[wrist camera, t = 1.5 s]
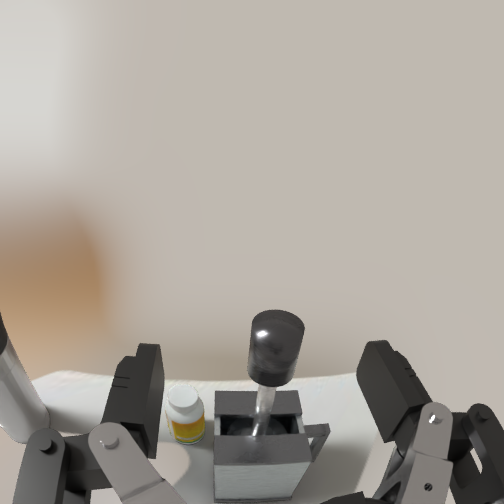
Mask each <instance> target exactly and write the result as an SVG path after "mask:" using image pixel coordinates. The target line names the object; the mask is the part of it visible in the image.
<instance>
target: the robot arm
mask: <svg viewBox="0 0 504 504" xmlns="http://www.w3.org/2000/svg"><path fill="white" fill-rule="evenodd" d="M356 376H357V381H358V384H359V386H360V388H361V391H362V393H363V395H364V397H365V400H366V402H367V404H368V406H369V409H370V411H371V413H372V416H373V418H374V420H375V423H376V425H377V427H378V430H379V432H380V434H381V437H382V439H383V441H384V443H387V442H391V441H395V443H396V446H395V447H394V449H393V452H392V455H391V458H390V460H389V463H388V466H387V469H386V472H385V474H384V477H383V479H382V482H381V484H380V486H379V488H378V489H377V491H376V492H375V494H374V496H373V497H372V498H365V497H364V494H363V491H361V492H357V493H353V494H349V495H344V496H340V497H335V498H332V499H330V500H328V501H325V502H323V503H321V504H445V501H446V497H447V492H448V488H449V487H450V489H451V492H452V494H453V497H454V500H455V503H456V504H504V430H503V428H502V426H501V425H500V423H499V421H498V419H497V418H496V416H495V414H494V413H493V411H492V410H491V409H490V408H489V407H488V406H486V405H484V404H479V403H478V404H474V405H473V406H471V408H470V409H469V410H468V411H467V413H462V412H457V413H456V412H451V411H450V410H449V409H448V408H447V407H446V406H445V405H443V404H441V403H436V402H433V401H432V400H431V398H430V396H429V395H428V393H427V391H426V390H425V388H424V387H423V385H422V383H421V381H420V380H419V378H418V377H416V373H415V372H414V370H413V369H412V367H411V365H410V364H409V362H408V361H407V359H406V358H405V357H404V356H403V355H401V354H400V353H399V352H398V351H394V350H393V349H392V347H391V346H390V344H389V342H388V341H386V340H379V341H369V342H368V343H367V344H366V346H365V349H364V352H363V354H362V357H361V360H360V362H359V365H358V367H357V373H356ZM163 392H164V369H163V362H162V356H161V349H160V345H159V344H143V343H140V344H139V346H138V349H137V353H136V357H133V356H125V357H124V358H123V360H122V361H121V362H120V363H119V364H118V366H117V369H116V372H115V375H114V379H113V382H112V387H111V389H110V392H109V396H108V399H107V403H106V407H105V410H104V414H103V418H102V421H101V423H100V425H98V426H96V427H95V428H94V429H93V430H92V431H91V432H90V433H88V434H85V435H79V436H69V437H62V436H61V434H60V433H59V432H57V431H56V430H53V429H50V428H49V425H50V417H49V413H48V411H47V409H46V407H45V406H44V404H43V402H42V401H41V399H40V397H39V395H38V394H37V392H36V390H35V388H34V387H33V385H32V383H31V381H30V379H29V377H28V376H27V374H26V372H25V370H24V368H23V366H22V364H21V362H20V360H19V358H18V356H17V354H16V351H15V349H14V347H13V345H12V343H11V341H10V339H9V337H8V334H7V332H6V329H5V327H4V324H3V321H2V317H1V313H0V427H1V428H3V429H4V430H5V432H6V433H7V434H8V435H9V436H10V437H11V438H12V439H13V440H14V441H16V442H18V443H22V444H27V446H26V449H25V452H24V456H23V460H22V464H21V467H20V472H19V476H18V480H17V484H16V489H15V493H14V498H13V504H90V499H91V490H95V489H105V488H114V490H115V491H116V493H117V494H118V496H119V498H120V500H121V502H122V503H123V504H187V503H186V502H185V501H184V500H183V499H182V498H181V497H180V495H179V494H178V493H177V492H176V491H175V490H174V488H173V487H172V486H171V485H170V484H169V483H168V482H167V481H166V480H165V479H163V478H162V477H161V476H160V475H159V474H158V472H157V471H156V470H155V468H154V467H153V466H152V464H151V463H150V462H149V460H148V458H151V459H156V451H157V442H158V432H159V424H160V415H161V407H162V400H163ZM473 448H474V449H475V451H476V453H477V455H478V457H479V459H480V461H481V463H482V472H481V474H480V472H479V470H478V468H477V465H476V463H475V461H474V459H473V457H472V455H471V453H470V451H471V450H472V449H473Z"/></svg>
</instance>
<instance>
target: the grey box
mask: <svg viewBox="0 0 504 504" xmlns="http://www.w3.org/2000/svg"><path fill="white" fill-rule="evenodd" d="M257 394H258V391H215V419H214V502H215V503H251V502H272V501H285V500H291V498H292V496H291V495H292V493H293V491H294V490H295V488H296V486H297V485H298V483H299V481H300V480H301V478H302V476H303V475H304V473H305V471H306V469H307V468H308V466H309V464H310V463H311V462H314V461H315V459H316V457H317V456H318V454H319V452H320V450H321V448H322V447H323V445H324V443H325V441H326V439H327V437H328V435H329V434H330V432H331V431H330V427H329V424H328V423H327V424H317V425H305V426H303V421H302V416H301V415H302V409H301V404H300V399H299V395H298V390H292V391H276V392H275V397H274V401H273V406H272V410H271V414H270V417H271V418H274V419H275V420H277V421H278V422H280V423H281V424H282V425H283V427H284V428H285V430H286V431H287V434H284V435H258V436H226V435H227V431H228V429H229V427H230V425H231V424H232V423H233V422H234V421H235V420H237V419H239V418H253V417H254V413H255V407H256V400H257ZM312 437H314V439H313V441H312V443H311V445H310V446H309V442H308V438H312Z"/></svg>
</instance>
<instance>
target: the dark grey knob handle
mask: <svg viewBox="0 0 504 504" xmlns="http://www.w3.org/2000/svg"><path fill="white" fill-rule="evenodd" d="M304 330H305V327H304V324H303V322H302V321H301V320H300V319H299V318H298V317H297V316H296V315H294V314H292V313H290V312H287V311H283V310H267V311H263V312H261V313H259V314H257V315H256V316H255V317H254V319H253V321H252V329H251V338H250V348H249V357H248V366H247V371H248V374H249V376H250V377H251V379H252V380H253V381H255V382H256V383H258V384H259V388H258V394H257V400H256V407H255V413H254V417H253V418H239V419H237V420H235V421H234V422H233V423H232V424H231V425H230V427H229V429H228V431H227V435H226V436H258V435H284V434H287V431H286V430H285V428H284V427H283V425H282V424H281V423H280V422H278V421H277V420H275V419H274V418H271V417H270V414H271V410H272V406H273V401H274V397H275V392H276V388H277V387H279V386H283V385H285V384H287V383H288V382H289V381H290V380H291V379H292V378H293V375H294V371H295V367H296V363H297V359H298V355H299V351H300V347H301V343H302V339H303V335H304Z"/></svg>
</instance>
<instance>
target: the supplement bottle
mask: <svg viewBox="0 0 504 504" xmlns="http://www.w3.org/2000/svg"><path fill="white" fill-rule="evenodd" d="M165 413H166V418H167V422H168V427H169V431H170V434H171V436H172V438H173V439H174V440H176V441H177V442H179V443H182V444H194V443H197V442H198V441H200V440H201V439H202V438H203V436H204V433H205V419H204V405H203V402H202V400H201V399H200V398H199V396H198V392H197V390H196V389H195V388H194V387H192V386H191V385H188V384H178V385H175V386H173V387H172V388H171V389H170V390H169V392H168V399H167V401H166V403H165Z"/></svg>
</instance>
